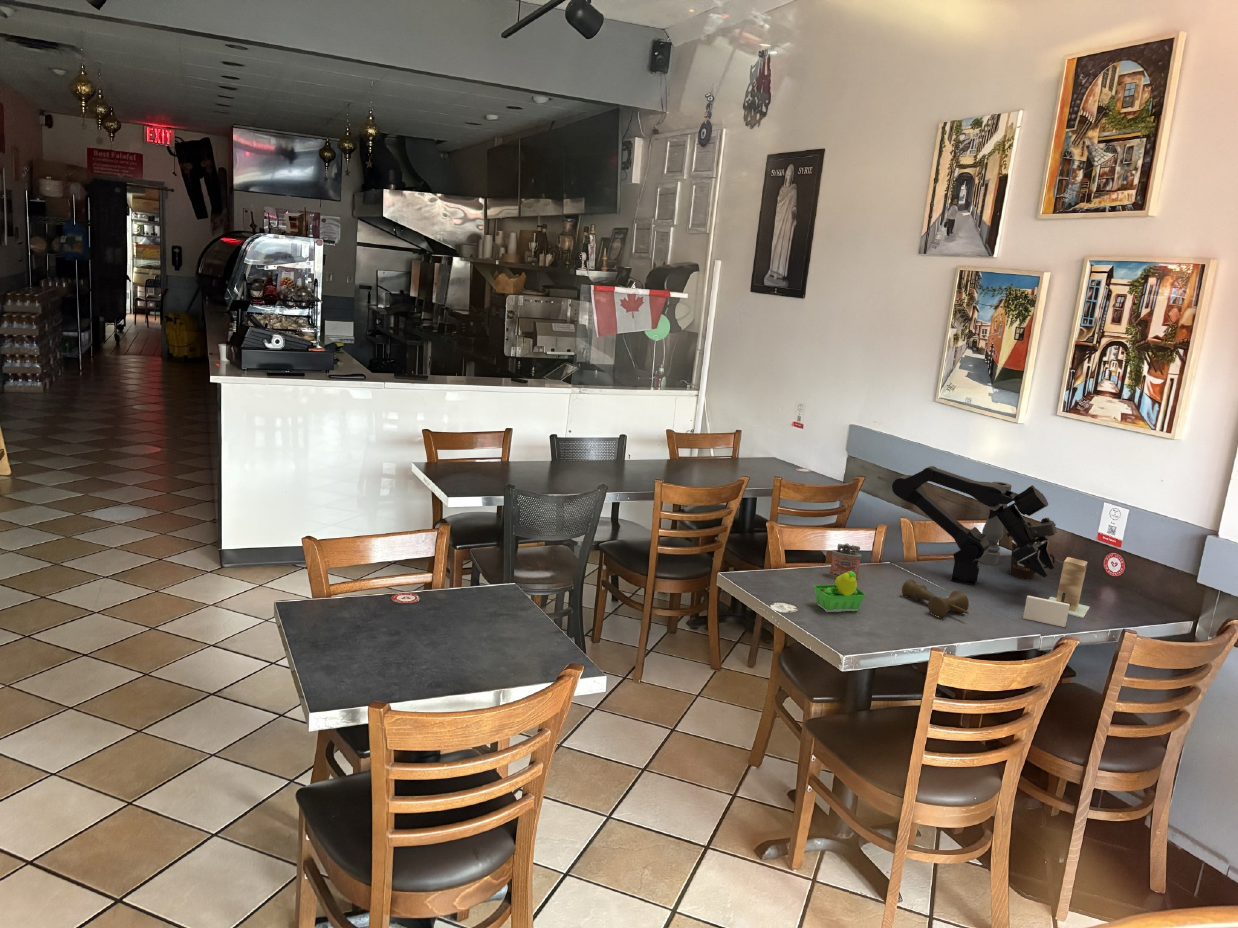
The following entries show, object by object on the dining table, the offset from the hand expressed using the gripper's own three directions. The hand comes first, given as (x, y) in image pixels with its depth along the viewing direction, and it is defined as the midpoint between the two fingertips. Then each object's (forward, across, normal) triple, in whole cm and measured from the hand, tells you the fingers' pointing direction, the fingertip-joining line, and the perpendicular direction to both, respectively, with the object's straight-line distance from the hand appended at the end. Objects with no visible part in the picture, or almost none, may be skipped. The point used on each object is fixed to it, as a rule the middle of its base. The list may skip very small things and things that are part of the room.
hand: (1049, 572), depth 246 cm
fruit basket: (-21, -50, +34) cm, 64 cm away
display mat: (+10, 0, +2) cm, 10 cm away
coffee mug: (0, +18, +12) cm, 22 cm away
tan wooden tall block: (+10, 0, +2) cm, 10 cm away
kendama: (-8, -30, +21) cm, 37 cm away
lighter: (-27, -26, +40) cm, 55 cm away
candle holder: (-8, +25, +21) cm, 34 cm away
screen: (+8, -16, +4) cm, 19 cm away
